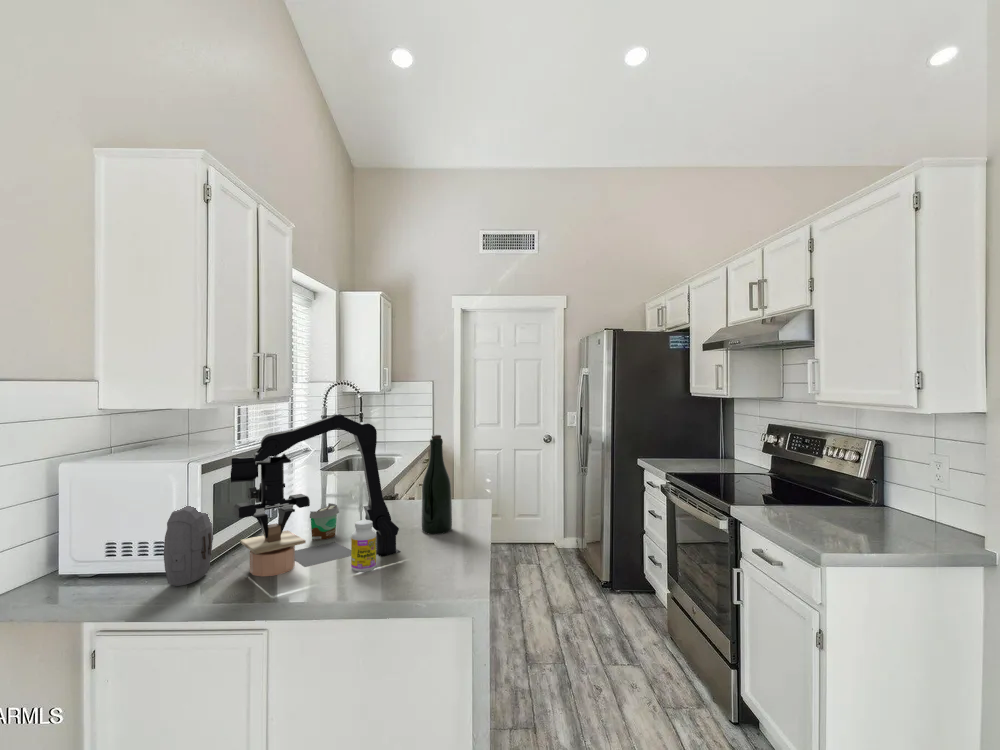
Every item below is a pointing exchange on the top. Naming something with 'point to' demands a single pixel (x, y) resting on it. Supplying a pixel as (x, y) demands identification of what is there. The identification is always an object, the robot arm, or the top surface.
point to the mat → (321, 554)
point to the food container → (324, 522)
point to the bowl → (272, 562)
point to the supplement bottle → (363, 547)
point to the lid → (272, 540)
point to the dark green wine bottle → (436, 492)
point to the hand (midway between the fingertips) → (272, 536)
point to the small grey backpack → (187, 546)
